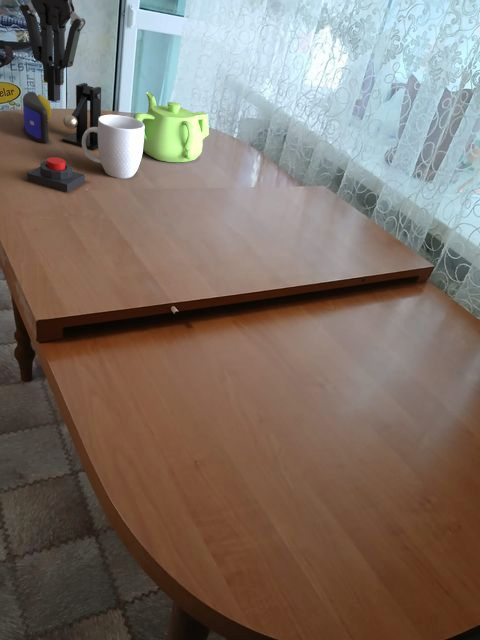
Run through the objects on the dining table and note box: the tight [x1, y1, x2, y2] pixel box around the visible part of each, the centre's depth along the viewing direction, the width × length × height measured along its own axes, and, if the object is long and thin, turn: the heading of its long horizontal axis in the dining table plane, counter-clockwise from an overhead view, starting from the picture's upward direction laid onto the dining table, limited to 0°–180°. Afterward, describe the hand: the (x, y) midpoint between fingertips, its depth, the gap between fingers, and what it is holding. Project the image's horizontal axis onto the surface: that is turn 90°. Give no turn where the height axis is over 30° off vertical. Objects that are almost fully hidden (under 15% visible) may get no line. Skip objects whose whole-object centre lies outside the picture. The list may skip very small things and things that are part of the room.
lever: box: [63, 85, 95, 130], centre depth 144 cm, size 14×3×3 cm, turn 166°
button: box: [46, 157, 66, 170], centre depth 126 cm, size 4×4×2 cm
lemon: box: [37, 93, 52, 121], centre depth 156 cm, size 6×6×8 cm
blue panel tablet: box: [22, 91, 49, 144], centre depth 147 cm, size 16×5×9 cm, turn 28°
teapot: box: [133, 91, 210, 163], centre depth 154 cm, size 19×20×14 cm
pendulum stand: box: [62, 82, 102, 151], centre depth 149 cm, size 12×9×15 cm
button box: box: [26, 160, 86, 193], centre depth 127 cm, size 10×8×4 cm
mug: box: [81, 114, 144, 179], centre depth 136 cm, size 15×11×13 cm
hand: (53, 99), depth 118 cm, fingers closed
